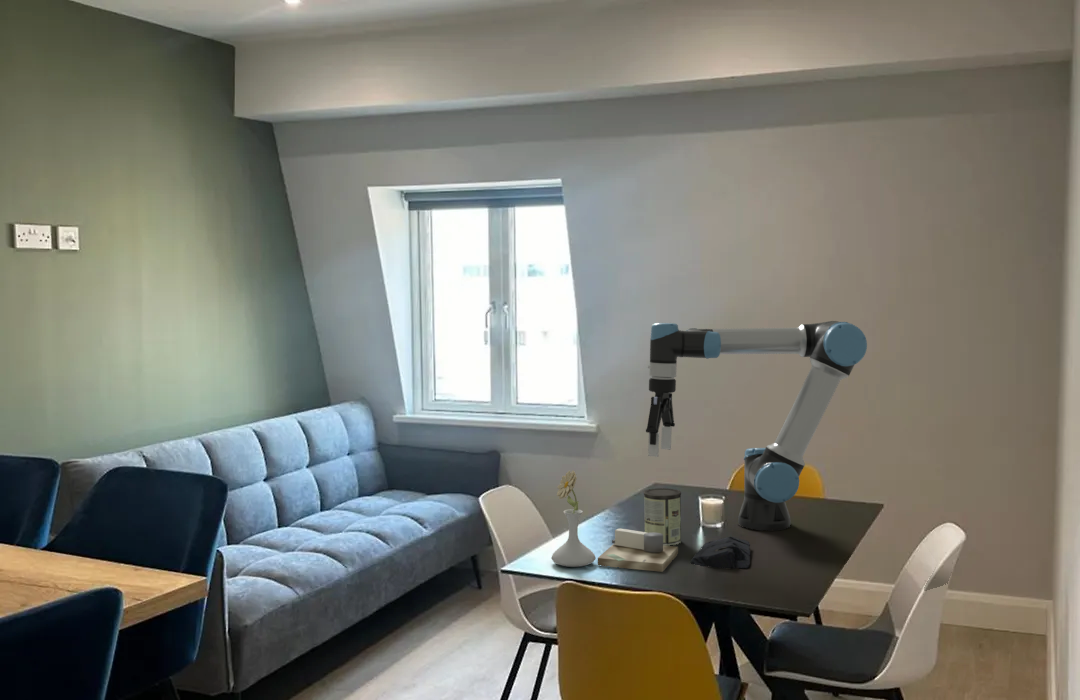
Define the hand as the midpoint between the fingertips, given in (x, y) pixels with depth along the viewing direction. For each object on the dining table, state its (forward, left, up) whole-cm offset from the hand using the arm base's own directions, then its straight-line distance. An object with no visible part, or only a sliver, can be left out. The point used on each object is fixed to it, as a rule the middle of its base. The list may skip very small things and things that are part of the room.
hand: (659, 452), depth 282 cm
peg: (+1, +22, -22) cm, 31 cm away
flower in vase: (+14, +35, -24) cm, 45 cm away
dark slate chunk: (-21, +15, -25) cm, 36 cm away
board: (-1, +25, -24) cm, 35 cm away
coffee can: (-2, +5, -24) cm, 25 cm away
